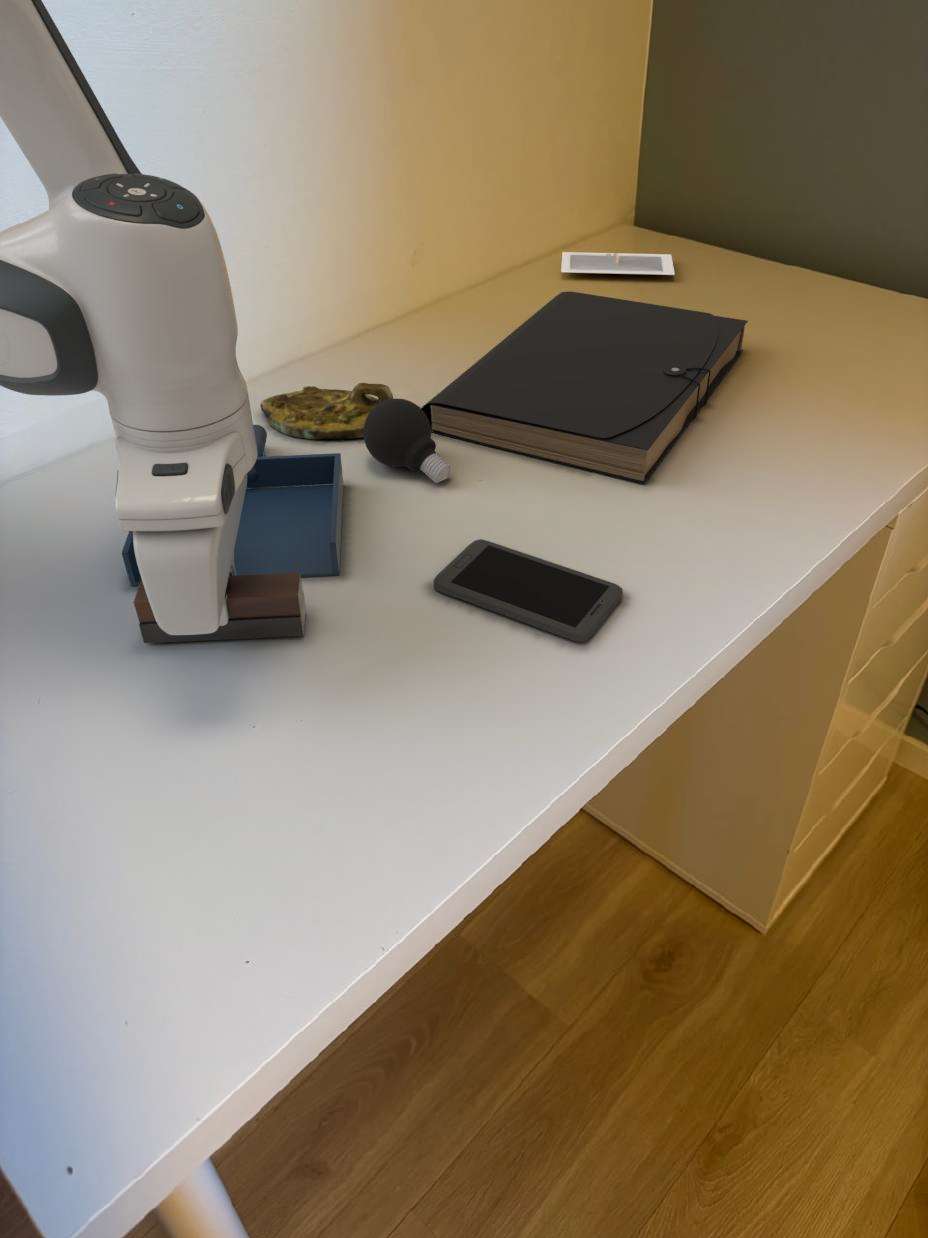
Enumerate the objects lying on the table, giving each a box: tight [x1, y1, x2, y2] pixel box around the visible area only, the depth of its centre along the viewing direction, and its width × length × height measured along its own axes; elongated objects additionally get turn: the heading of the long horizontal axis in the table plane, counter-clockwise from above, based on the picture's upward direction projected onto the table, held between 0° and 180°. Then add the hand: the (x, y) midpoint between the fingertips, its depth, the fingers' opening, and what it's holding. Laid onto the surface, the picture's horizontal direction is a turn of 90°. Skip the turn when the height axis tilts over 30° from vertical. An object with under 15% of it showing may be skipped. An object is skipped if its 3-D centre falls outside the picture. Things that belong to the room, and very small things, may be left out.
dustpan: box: [121, 424, 344, 587], centre depth 89 cm, size 22×17×3 cm
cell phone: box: [432, 538, 624, 643], centre depth 79 cm, size 7×14×1 cm, turn 58°
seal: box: [259, 382, 394, 440], centre depth 102 cm, size 9×5×15 cm
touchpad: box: [560, 251, 676, 276], centre depth 135 cm, size 8×15×2 cm, turn 84°
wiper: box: [133, 572, 307, 644], centre depth 75 cm, size 3×12×6 cm, turn 94°
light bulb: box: [363, 398, 451, 484], centre depth 94 cm, size 6×6×10 cm
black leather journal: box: [420, 290, 749, 484], centre depth 107 cm, size 33×4×24 cm
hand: (221, 603), depth 75 cm, fingers closed on wiper, 3 cm apart
